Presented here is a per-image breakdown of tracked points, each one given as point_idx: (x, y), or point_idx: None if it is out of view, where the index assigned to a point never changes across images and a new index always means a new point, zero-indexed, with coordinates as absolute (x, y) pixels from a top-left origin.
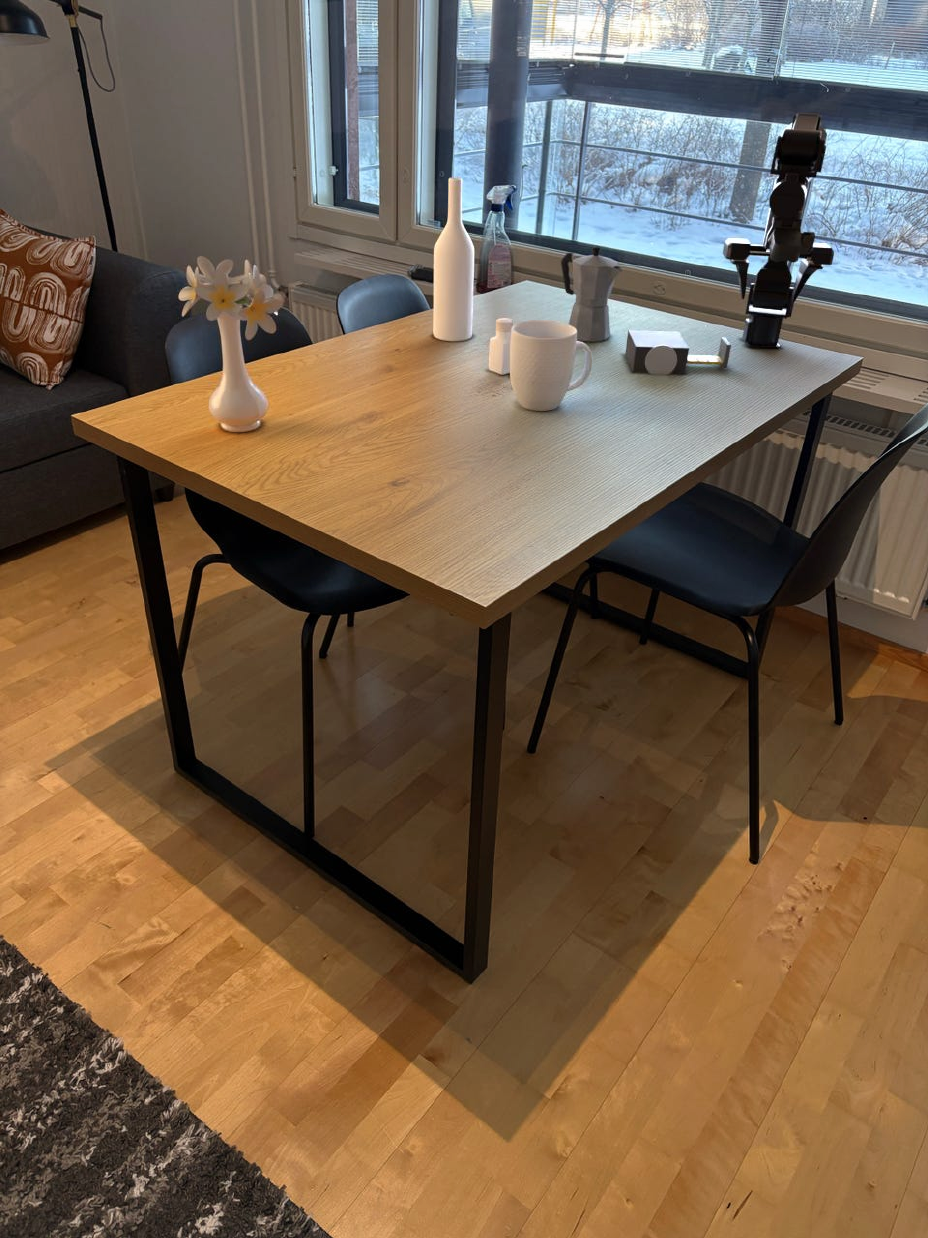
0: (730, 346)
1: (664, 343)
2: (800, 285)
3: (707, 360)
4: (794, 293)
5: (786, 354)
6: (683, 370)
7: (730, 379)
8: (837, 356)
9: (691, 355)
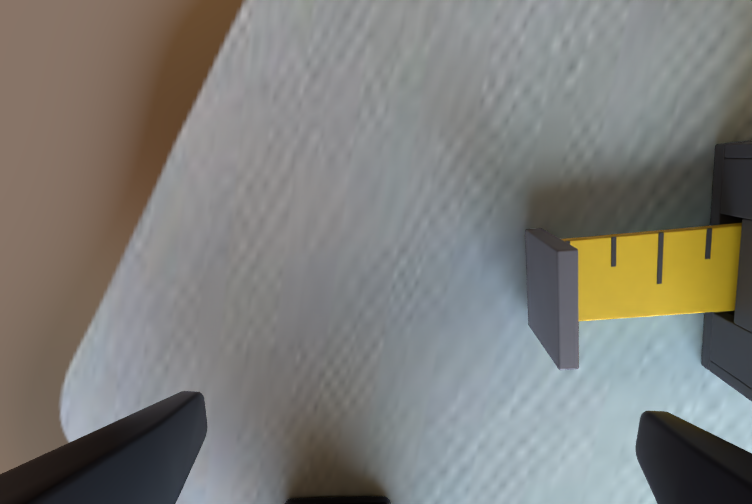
0: (556, 248)
1: None
2: (38, 475)
3: (615, 250)
4: (157, 432)
5: (269, 445)
6: (736, 143)
7: (526, 119)
8: None
9: (671, 307)
